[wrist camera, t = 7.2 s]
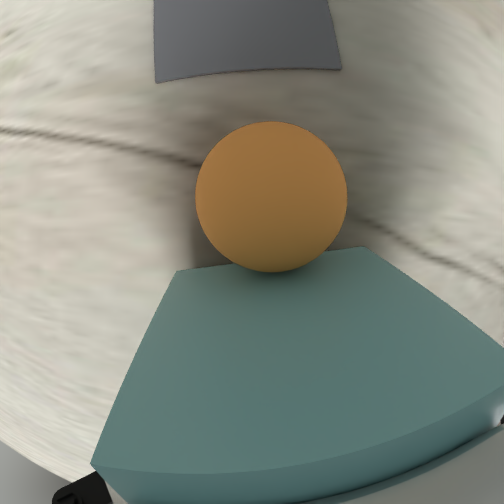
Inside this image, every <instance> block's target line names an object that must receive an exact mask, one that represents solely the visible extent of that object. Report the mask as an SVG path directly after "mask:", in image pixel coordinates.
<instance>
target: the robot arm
mask: <svg viewBox="0 0 504 504" xmlns="http://www.w3.org/2000/svg"><path fill="white" fill-rule="evenodd" d="M52 504H128V503H127V502H126V501H125V500H124V499H123V498H122V497H121V496H120V495H119V494H118V493H117V492H116V491H115V490H114V489H113V488H112V487H111V486H110V485H109V484H108V483H107V482H106V481H105V480H104V479H103V478H102V477H101V476H100V475H99V473H98V472H97V471H95V472H93V473H91V474H89V475H87V476H85V477H83V478H81V479H79V480H77V481H75V482H73V483H71V484H69V485H67V486H65V487H63V488H61V489H59V490H58V491H57V492H56V493H55V494H54V496H53V499H52ZM298 504H504V415H503V417H502V418H501V420H500V422H499V423H498V425H497V427H495V428H493V429H491V430H489V431H487V432H485V433H484V434H482V435H480V436H478V437H476V438H475V439H473V440H471V441H469V442H468V443H466V444H464V445H462V446H460V447H458V448H457V449H455V450H453V451H451V452H449V453H447V454H445V455H443V456H441V457H439V458H437V459H435V460H433V461H431V462H429V463H426V464H424V465H422V466H420V467H417V468H415V469H413V470H410V471H408V472H406V473H403V474H401V475H398V476H395V477H393V478H390V479H387V480H385V481H382V482H379V483H376V484H373V485H370V486H367V487H364V488H361V489H357V490H354V491H350V492H347V493H343V494H339V495H335V496H331V497H327V498H323V499H318V500H314V501H309V502H303V503H298Z"/></svg>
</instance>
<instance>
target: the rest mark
mask: <svg viewBox="0 0 504 504" xmlns="http://www.w3.org/2000/svg"><path fill="white" fill-rule="evenodd" d="M154 62H155V82H156V83H162V82H167V81H172V80H177V79H183V78H189V77H195V76H202V75H209V74H217V73H226V72H236V71H249V70H265V69H331V70H341V69H342V67H341V61H340V56H339V51H338V46H337V41H336V36H335V32H334V27H333V23H332V18H331V14H330V10H329V6H328V2H327V0H154Z"/></svg>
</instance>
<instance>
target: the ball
mask: <svg viewBox="0 0 504 504" xmlns="http://www.w3.org/2000/svg"><path fill="white" fill-rule="evenodd" d="M195 204H196V211H197V215H198V218H199V221H200V224H201V227H202V229H203V231H204V233H205V234H206V236H207V238H208V239H209V241H210V242H211V243H212V244H213V246H214V247H215V248H216V249H217V250H218V251H219V252H220V253H221V254H223V255H224V256H225V257H227V258H228V259H229V260H231V261H232V262H234V263H236V264H238V265H240V266H242V267H245V268H248V269H252V270H255V271H261V272H283V271H288V270H292V269H296V268H299V267H301V266H303V265H306V264H308V263H309V262H311V261H313V260H314V259H316V258H317V257H318V256H320V255H321V254H322V253H323V252H324V251H325V250H326V249H327V248H328V247H329V246H330V245H331V243H332V242H333V241H334V239H335V238H336V236H337V234H338V233H339V231H340V229H341V226H342V224H343V221H344V218H345V214H346V208H347V186H346V181H345V177H344V173H343V171H342V168H341V166H340V164H339V162H338V160H337V158H336V157H335V155H334V154H333V152H332V151H331V150H330V149H329V147H328V146H327V145H326V144H325V143H324V142H323V141H322V140H320V139H319V138H318V137H317V136H315V135H314V134H312V133H311V132H309V131H307V130H305V129H303V128H301V127H299V126H296V125H293V124H289V123H284V122H276V121H266V122H258V123H253V124H249V125H246V126H243V127H241V128H239V129H237V130H235V131H233V132H231V133H229V134H228V135H227V136H225V137H224V138H223V139H221V140H220V141H219V142H218V143H217V144H216V145H215V146H214V148H213V149H212V150H211V151H210V152H209V154H208V155H207V157H206V159H205V160H204V162H203V164H202V167H201V169H200V172H199V174H198V178H197V183H196V189H195Z"/></svg>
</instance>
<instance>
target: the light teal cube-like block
mask: <svg viewBox="0 0 504 504" xmlns="http://www.w3.org/2000/svg"><path fill="white" fill-rule="evenodd" d="M503 415H504V348H503V347H502V346H501V345H499V344H498V343H497V342H496V341H494V340H493V339H492V338H491V337H489V336H488V335H487V334H486V333H485V332H483V331H482V330H481V329H479V328H478V327H477V326H476V325H474V324H473V323H472V322H471V321H469V320H468V319H467V318H465V317H464V316H463V315H461V314H460V313H459V312H457V311H456V310H455V309H453V308H452V307H451V306H449V305H448V304H447V303H445V302H444V301H443V300H441V299H440V298H439V297H437V296H436V295H434V294H433V293H432V292H430V291H429V290H428V289H426V288H425V287H423V286H422V285H421V284H419V283H418V282H416V281H415V280H413V279H412V278H411V277H409V276H408V275H406V274H405V273H403V272H402V271H400V270H399V269H397V268H396V267H395V266H393V265H392V264H390V263H389V262H387V261H386V260H384V259H383V258H381V257H380V256H378V255H377V254H375V253H374V252H372V251H370V250H369V249H367V248H366V247H364V246H361V247H354V248H347V249H340V250H333V251H325V252H323V253H322V254H321V255H320V256H318V257H317V258H316V259H314V260H313V261H311V262H309V263H308V264H306V265H303V266H301V267H299V268H296V269H292V270H288V271H283V272H261V271H255V270H252V269H248V268H245V267H242V266H240V265H238V264H236V263H235V264H228V265H220V266H212V267H204V268H196V269H188V270H180V271H176V273H175V275H174V277H173V279H172V281H171V283H170V285H169V287H168V288H167V290H166V292H165V294H164V296H163V298H162V300H161V302H160V304H159V306H158V308H157V310H156V312H155V314H154V317H153V319H152V321H151V323H150V325H149V327H148V329H147V331H146V333H145V335H144V337H143V339H142V342H141V344H140V346H139V348H138V350H137V352H136V354H135V357H134V359H133V361H132V363H131V365H130V368H129V370H128V372H127V374H126V377H125V379H124V381H123V383H122V386H121V388H120V390H119V393H118V395H117V397H116V400H115V402H114V404H113V407H112V409H111V411H110V414H109V416H108V419H107V421H106V424H105V426H104V429H103V431H102V434H101V436H100V439H99V441H98V444H97V446H96V449H95V452H94V454H93V457H92V460H91V462H90V464H91V466H92V467H93V468H94V469H95V470H96V471H97V472H98V473H99V475H100V476H101V477H102V478H103V479H104V480H105V481H106V482H107V483H108V484H109V485H110V486H111V487H112V488H113V489H114V490H115V491H116V492H117V493H118V494H119V495H120V496H121V497H122V498H123V499H124V500H125V501H126V502H127V503H128V504H298V503H303V502H309V501H314V500H318V499H323V498H327V497H331V496H335V495H339V494H343V493H347V492H350V491H354V490H357V489H361V488H364V487H367V486H370V485H373V484H376V483H379V482H382V481H385V480H387V479H390V478H393V477H395V476H398V475H401V474H403V473H406V472H408V471H410V470H413V469H415V468H417V467H420V466H422V465H424V464H426V463H429V462H431V461H433V460H435V459H437V458H439V457H441V456H443V455H445V454H447V453H449V452H451V451H453V450H455V449H457V448H458V447H460V446H462V445H464V444H466V443H468V442H469V441H471V440H473V439H475V438H476V437H478V436H480V435H482V434H484V433H485V432H487V431H489V430H491V429H493V428H495V427H497V425H498V423H499V422H500V420H501V418H502V417H503Z"/></svg>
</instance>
